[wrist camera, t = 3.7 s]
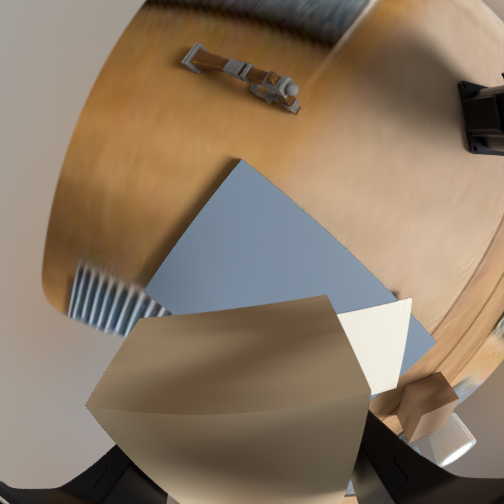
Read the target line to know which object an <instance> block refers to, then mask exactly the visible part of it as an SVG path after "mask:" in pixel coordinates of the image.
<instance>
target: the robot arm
mask: <svg viewBox="0 0 504 504" xmlns="http://www.w3.org/2000/svg"><path fill="white" fill-rule="evenodd" d="M501 74H502V76H503V78H504V72H503V73H501ZM463 87H464V88H463ZM458 88H459V92H460V96H461V101H462V106H463V111H464V117H465V123H466V129H467V136H468V144H469V150H470V152H471V153H472V154H485V155H500V156H504V85H503V86H497V87H491V88H487V87H484V86H480V85H477V84H473V83H469V82H465V81H460V82H458ZM473 147H474V148H473ZM351 481H352V484H353V488H354V491H355V494H356V497H357V500H358V504H504V478H470V477H461V476H457V475H454V474H452V473H449V472H448V471H446V470H444V469H443V468H441V467H439V466H438V465H436V464H435V463H433V462H431V461H430V460H428V459H426V458H425V457H423V456H422V455H421V454H419V453H418V452H416V451H415V450H414V449H412V448H411V447H410V446H409V445H407V444H406V443H405V442H404V441H403V440H402V439H399V437H398V436H397V435H396V434H395V433H394V432H393V431H392V430H391V429H389V428H388V427H387V426H386V425H385V424H384V423H383V422H382V421H381V420H379V419H378V418H377V417H376V416H375V415H374V414H373V413H372V412H371V411H370V410H369V409H368V413H367V418H366V422H365V427H364V431H363V435H362V439H361V443H360V447H359V451H358V454H357V458H356V461H355V465H354V468H353V471H352V475H351ZM0 496H1V497H2V498H4V499H5V500H6V501H7V502H8V503H10V504H166V502H167V496H168V493H167V492H165V491H164V490H163V489H162V488H161V487H160V486H158V485H157V484H156V483H155V482H154V481H153V480H152V479H151V478H149V477H148V476H147V475H146V474H145V473H144V472H143V471H142V470H141V469H140V468H139V467H138V466H137V465H136V464H135V463H134V462H133V461H132V460H131V459H130V458H129V457H128V456H127V455H126V454H125V453H124V452H123V451H122V449H121V448H120V447H119V446H118V445H117V444H116V445H115V446H114V447H112V448H111V449H110V450H109V451H108V452H107V453H106V455H104V456H103V457H101V458H100V459H99V460H98V461H97V462H96V463H94V464H93V465H92V466H91V467H89V468H88V469H87V470H86V471H84V472H83V473H81V474H80V475H79V476H77V477H76V478H74V479H72V480H71V481H70V482H68V483H66V484H65V485H63V486H61V487H58V488H52V489H17V488H12V487H9V486H7V485H6V484H5V483H4V482H2V481H0ZM0 504H5V503H3V502H2V501H1V500H0Z"/></svg>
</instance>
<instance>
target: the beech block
mask: <svg viewBox="0 0 504 504" xmlns="http://www.w3.org/2000/svg"><path fill="white" fill-rule="evenodd" d="M371 392H372V391H371V388H370V386H369V384H368V382H367V379H366V377H365V375H364V372H363V370H362V368H361V366H360V363H359V361H358V359H357V357H356V355H355V352H354V350H353V348H352V346H351V344H350V342H349V339H348V337H347V335H346V333H345V331H344V329H343V327H342V325H341V322H340V320H339V318H338V316H337V314H336V312H335V310H334V308H333V306H332V304H331V302H330V300H329V298H328V296H327V294H325V295H320V296H314V297H308V298H302V299H296V300H290V301H283V302H277V303H270V304H263V305H256V306H249V307H242V308H234V309H226V310H218V311H210V312H201V313H192V314H182V315H172V316H161V317H150V318H140V319H139V320H138V322H137V323H136V325H135V326H134V328H133V329H132V331H131V332H130V334H129V335H128V337H127V338H126V340H125V341H124V343H123V344H122V346H121V347H120V349H119V351H118V352H117V354H116V355H115V357H114V358H113V360H112V362H111V363H110V365H109V366H108V368H107V370H106V371H105V373H104V374H103V376H102V378H101V379H100V381H99V383H98V384H97V386H96V388H95V389H94V391H93V393H92V394H91V396H90V398H89V399H88V401H87V403H86V405H85V406H86V407H87V408H88V410H89V411H90V412H91V414H92V415H93V416H94V417H95V418H96V420H97V421H98V423H99V424H100V425H101V426H102V428H103V429H104V430H105V431H106V432H107V433H108V435H109V436H110V437H111V438H112V439H113V441H114V442H115V443H116V444H117V445H118V446H119V447H120V448H121V449H122V451H123V452H124V453H125V454H126V455H127V456H128V457H129V458H130V459H131V460H132V461H133V462H134V463H135V464H136V465H137V466H138V467H139V468H140V469H141V470H142V471H143V472H144V473H145V474H146V475H147V476H148V477H149V478H151V479H152V480H153V481H154V482H155V483H156V484H157V485H158V486H160V487H161V488H162V489H163V490H164V491H165V492H167V493H168V494H169V495H170V496H171V497H173V498H174V499H175V500H176V501H178V502H179V503H180V504H342V501H343V498H344V495H345V493H346V490H347V487H348V484H349V481H350V478H351V475H352V471H353V468H354V465H355V461H356V458H357V454H358V451H359V447H360V443H361V439H362V435H363V431H364V427H365V422H366V418H367V413H368V408H369V403H370V398H371Z"/></svg>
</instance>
